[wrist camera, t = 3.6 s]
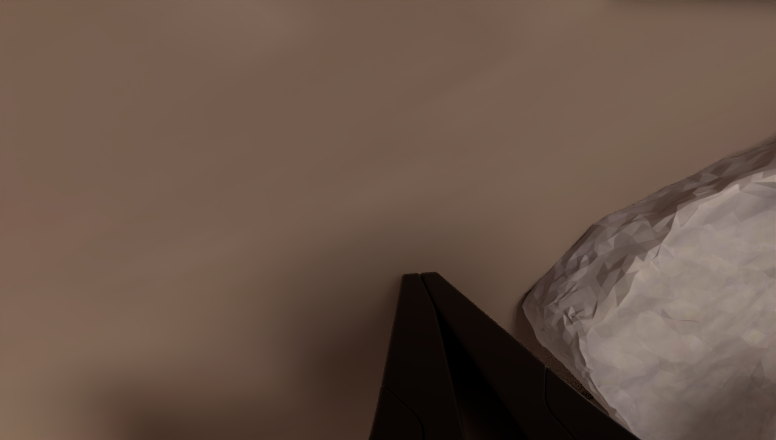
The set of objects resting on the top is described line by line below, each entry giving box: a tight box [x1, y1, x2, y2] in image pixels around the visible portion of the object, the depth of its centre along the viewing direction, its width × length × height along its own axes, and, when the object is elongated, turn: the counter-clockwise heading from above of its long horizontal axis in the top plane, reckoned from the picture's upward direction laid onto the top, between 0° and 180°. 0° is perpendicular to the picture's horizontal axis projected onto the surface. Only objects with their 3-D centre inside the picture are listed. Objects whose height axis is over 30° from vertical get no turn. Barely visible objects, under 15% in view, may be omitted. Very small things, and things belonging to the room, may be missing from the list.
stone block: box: [522, 142, 776, 440], centre depth 10 cm, size 12×5×10 cm
